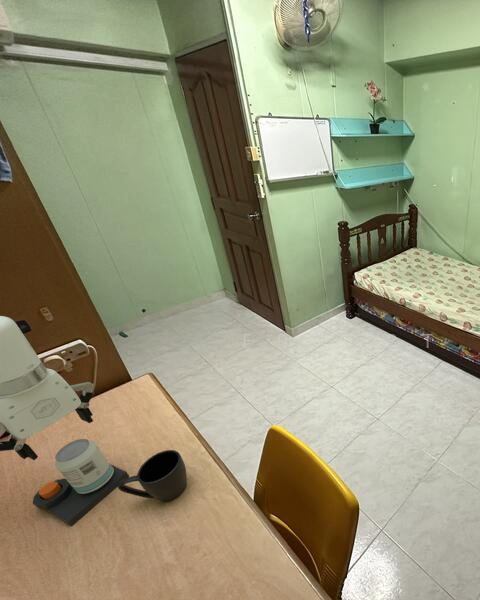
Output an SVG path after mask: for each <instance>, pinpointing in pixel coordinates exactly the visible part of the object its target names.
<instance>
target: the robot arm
mask: <svg viewBox="0 0 480 600" xmlns="http://www.w3.org/2000/svg"><path fill="white" fill-rule="evenodd" d="M93 390H94V383H92V382H90V381H86V382H85V381H84V382H82V383H81V382H80V383H76V384H71V385H70V384H69V383H68V382H67V381H66V380H65V379H64V377H62V376H61V374H60V373H58V372H57V371H56V370H54V369H51V368H48V367H45V365H44V363H43V362H42V360H41V359H40V357H39V356H38V354H37V353H36V351H35V349H34V348H33V346H32V345H31V344H30V342H29V341H28V339H27V338H26V335H24V333H23V331H22V330H21V329H20V327H19V326H18V324H17V323H16V322H15V320H13V319H12V318H11V317H8V316H3V315H0V438H1V437H2V436H3V435H4V434H5V432H7V433H8V434H9V436H8V438H7V440H4V441H3V440H1V441H0V452H5V451H6V452H7V451H15V452H16V454H17V455H18V456H19V457H20V458H22V459H23V460H25V459H27V458H29V459H31V460H33V461H36V460H38V458H39V456H38V454H37V453H36V452H35V451H34V450H33V449H32V447H31V446H30V445H29V444H28V443H26V441H27V439H28V438H30V437H33V436H34V435H36V434H39V433H40V432H41V431H43V430H45V429H47V428H48V427H50V426H52V425H53V424H55V423H56V422H58V421H60V420H61V419H64V417H66V416H68V415H69V414H71V413H73V412H75V413H76V414H77V416H78V417H79V418H80V420H82V421H83V422H86V423H88V424H91V423H93V422H94V420H93V418H92V416H93V414H94V413H92V411H91V409H90V408H89V407H90V401H91V399H92V397H93V395H94V394H93ZM81 391H82V392H81ZM77 392H81V394H80V395H78V394H77Z"/></svg>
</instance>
